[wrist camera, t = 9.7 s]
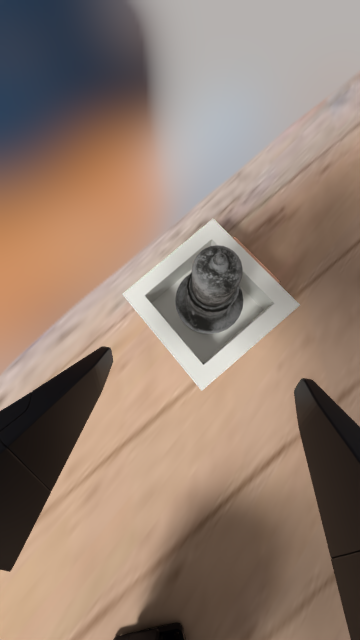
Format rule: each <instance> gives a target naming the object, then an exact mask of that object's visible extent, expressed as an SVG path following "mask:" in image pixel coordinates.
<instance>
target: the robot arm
mask: <svg viewBox="0 0 360 640" xmlns="http://www.w3.org/2000/svg"><path fill="white" fill-rule="evenodd" d="M112 363H113V356H112V351H111V348H109V347H100V348H99V349H97V350H96V351H94V352H92V353H91V354H89V355H88V356H86V357H85V358H83V359H82V360H80V361H78V362H77V363H75V364H74V365H72V366H71V367H69V368H68V369H66V370H64V371H63V372H61V373H60V374H58V375H57V376H55V377H54V378H52V379H51V380H49V381H47V382H46V383H44V384H43V385H41V386H40V387H38V388H37V389H35V390H33V391H32V392H30V393H29V394H27V395H26V396H24V397H22V398H21V399H19V400H18V401H16V402H14V403H13V404H11V405H10V406H8V407H6V408H4V409H3V410H1V411H0V570H4V571H9V572H10V571H11V570H12V568H13V566H14V564H15V562H16V560H17V558H18V556H19V554H20V552H21V550H22V549H23V547H24V545H25V543H26V541H27V539H28V537H29V535H30V533H31V531H32V529H33V527H34V525H35V523H36V521H37V519H38V517H39V515H40V513H41V511H42V509H43V507H44V505H45V503H46V501H47V499H48V497H49V495H50V493H51V491H52V489H53V487H54V485H55V483H56V481H57V479H58V477H59V475H60V473H61V471H62V469H63V467H64V465H65V463H66V461H67V459H68V457H69V456H70V454H71V452H72V450H73V448H74V446H75V444H76V442H77V440H78V438H79V436H80V434H81V432H82V430H83V428H84V426H85V424H86V422H87V420H88V418H89V416H90V414H91V412H92V410H93V408H94V406H95V404H96V402H97V400H98V398H99V396H100V394H101V392H102V390H103V387H104V385H105V382H106V379H107V377H108V374H109V371H110V369H111V366H112ZM294 396H295V404H296V412H297V419H298V426H299V431H300V435H301V439H302V443H303V447H304V451H305V455H306V459H307V463H308V467H309V471H310V475H311V480H312V484H313V488H314V492H315V496H316V500H317V504H318V508H319V512H320V516H321V520H322V524H323V528H324V532H325V536H326V540H327V544H328V548H329V552H330V556H331V558H332V559H331V561H332V565H333V569H334V573H335V577H336V581H337V585H338V589H339V593H340V597H341V602H342V606H343V610H344V614H345V618H346V622H347V626H348V630H349V634H350V638H351V640H360V427H359V426H358V425H357V424H356V423H355V422H354V421H353V420H352V419H351V418H350V417H349V416H348V415H347V414H346V413H345V412H344V411H343V410H342V409H341V408H340V407H339V406H338V405H337V404H336V403H335V402H334V401H333V400H332V399H331V398H330V397H329V396H328V395H327V394H326V393H325V392H324V391H323V390H322V389H321V388H320V387H319V386H318V385H317V384H316V383H315V382H314V381H313V380H311V379H305V378H302V379H301V380H300V382H299V383H298V385H297V386H296V388H295V390H294ZM176 632H178V633H176ZM113 640H186V639H185V634H184V630H183V627H182V625H181V624H180V623H174V624H169V625H165V626H160V627H156V628H152V629H147V630H143V631H139V632H134V633H130V634H125V635H121V636H117V637H115V638H114V639H113Z"/></svg>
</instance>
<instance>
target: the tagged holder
mask: <svg viewBox="0 0 360 640" xmlns="http://www.w3.org/2000/svg"><path fill="white" fill-rule="evenodd" d="M215 245H219V246H225V247H227V248H230V249H231V250H233V251H234V252H235V253H236V254H237V255H238V256H239V258H240V260H241V263H242V268H243V271H242V278H241V281H240V283H239V286H240V288H241V290H242V294H243V309H242V311H241V314H240V316H239V318H238V319H237V321H236V322H235V323H234V324H233V325H232V326H231V327H229V328H228V329H227V330H224V331H222V332H219V333H214V334H203V333H199V332H196V331H194V330H192V329H191V328H189V327H188V326H187V325H186V324H185V323H184V322H183V321H182V320H181V318H180V317H179V314H178V312H177V310H176V303H175V298H176V292H177V289H178V287H179V285H180V283H181V282H182V281H183V280H184V278H185V277H186V276H188V275H189V274H190V273H191V272H192V265H193V262H194V260H195V258H196V257H197V255H198V254H199V253H200V252H201V251H202V250H204V249H205V248H207V247H210V246H215ZM279 282H280V281H279V280H278V279H277V278H276V277H275V276H274V275H273V274H272V273H271V272H270V271H269V270H268V269H267V268H266V267H265V266H264V265H263V264H262V263H261V262H260V261H259V260H258V259H257V258H256V257H255V256H254V255H253V254H252V253H251V252H250V251H249V250H248V249H247V248H246V247H245V246H244V245H243V244H242V243H241V242H240V241H239V240H238V239H237V238H236V237H235V236H234V237H233V238H232V237H231V236H230V235H229V234H228V233H227V232H226V231H225V230H224V229H223V228H222V227H221V226H220V225H219V224H218V223H217V222H216V221H215V220H214V219H212V220H211V221H209V222H208V223H207V224H206V225H205V226H203V227H202V228H201V229H200V230H199V231H197V232H196V233H195V234H194V235H193V236H191V237H190V238H189V239H188V240H187V241H185V242H184V243H183V244H182V245H181V246H179V247H178V248H177V249H176V250H175V251H173V252H172V253H171V254H170V255H169V256H167V257H166V258H165V259H164V260H163V261H161V262H160V263H159V264H158V265H157V266H155V267H154V268H153V269H152V270H151V271H149V272H148V273H147V274H146V275H145V276H143V277H142V278H141V279H140V280H139V281H137V282H136V283H135V284H134V285H133V286H131V287H130V288H129V289H128V290H127V291H125V292H124V293H123V294H122V295H123V296H124V297H125V298H126V299H127V301H128V302H129V303H130V304H131V305H132V307H133V308H134V309H135V310H136V312H137V313H138V314H139V315H140V316H141V318H142V319H143V320H144V321H145V322H146V324H147V325H148V326H149V327H150V329H151V330H152V331H153V332H154V333H155V335H156V336H157V337H158V338H159V339H160V341H161V342H162V343H163V344H164V346H165V347H166V348H167V349H168V350H169V352H170V353H171V354H172V355H173V356H174V358H175V359H176V360H177V361H178V363H179V364H180V365H181V366H182V367H183V369H184V370H185V371H186V372H187V373H188V375H189V376H190V377H191V378H192V380H193V381H194V382H195V383H196V384H197V386H198V387H199V388H200V389H201V390H203V389H205V388H206V387H207V386H208V385H209V384H210V383H211V382H213V381H214V380H215V379H216V378H217V377H218V376H219V375H221V374H222V373H223V372H224V371H225V370H226V369H227V368H229V367H230V366H231V365H232V364H233V363H234V362H235V361H237V360H238V359H239V358H240V357H241V356H242V355H243V354H245V353H246V352H247V351H248V350H249V349H250V348H251V347H253V346H254V345H255V344H256V343H257V342H258V341H259V340H261V339H262V338H263V337H264V336H265V335H266V334H268V333H269V332H270V331H271V330H272V329H273V328H274V327H276V326H277V325H278V324H279V323H280V322H281V321H282V320H284V319H285V318H286V317H287V316H288V315H289V314H290V313H292V312H293V311H294V310H295V309H296V308H297V307H298V306H300V304H299V303H298V302H297V301H296V300H295V299H294V298H293V297H292V296H291V295H290V294H289V293H288V292H287V291H286V290H285V289H284V288H283V287H282V286H281V285H280V284H279Z"/></svg>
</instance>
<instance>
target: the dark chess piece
mask: <svg viewBox="0 0 360 640" xmlns="http://www.w3.org/2000/svg"><path fill="white" fill-rule="evenodd" d="M242 271H243V268H242V263H241V260H240V258H239V256H238V255H237V254H236V253H235V252H234V251H233V250H231V249H230V248H227V247H225V246H219V245H215V246H210V247H207V248H205V249H204V250H202V251H201V252H200V253H199V254H198V255H197V257H196V258H195V260H194V262H193V265H192V272H191V273H190V274H189V275H188V276H186V277H185V278H184V280H183V281H182V282H181V283H180V285H179V287H178V289H177V292H176V298H175V303H176V310H177V312H178V314H179V317H180V318H181V320H182V321H183V322H184V323H185V324H186V325H187V326H188V327H189V328H191V329H192V330H194V331H196V332H199V333H203V334H214V333H219V332H222V331H224V330H227V329H228V328H229V327H231V326H232V325H233V324H234V323H235V322H236V321H237V319H238V318H239V316H240V314H241V311H242V309H243V294H242V290H241V288H240V286H239V283H240V281H241V278H242Z"/></svg>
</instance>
